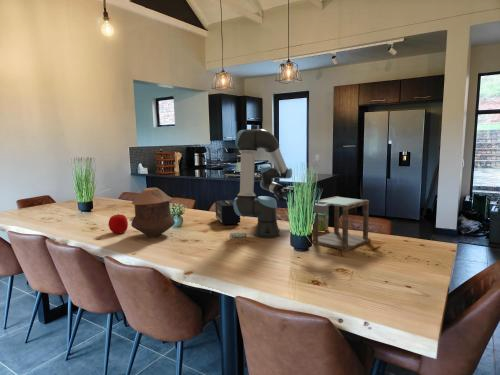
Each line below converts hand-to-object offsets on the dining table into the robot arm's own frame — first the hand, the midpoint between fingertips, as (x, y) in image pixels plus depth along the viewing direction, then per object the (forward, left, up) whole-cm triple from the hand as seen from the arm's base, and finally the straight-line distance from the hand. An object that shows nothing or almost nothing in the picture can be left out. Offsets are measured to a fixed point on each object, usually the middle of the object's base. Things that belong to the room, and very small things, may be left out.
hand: (298, 197), depth 224 cm
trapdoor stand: (-10, -38, -20) cm, 44 cm away
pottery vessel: (-78, +52, -20) cm, 95 cm away
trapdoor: (-18, -38, +1) cm, 42 cm away
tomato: (-91, +75, -20) cm, 119 cm away
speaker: (-24, +46, -20) cm, 55 cm away
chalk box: (+2, -15, -20) cm, 25 cm away
